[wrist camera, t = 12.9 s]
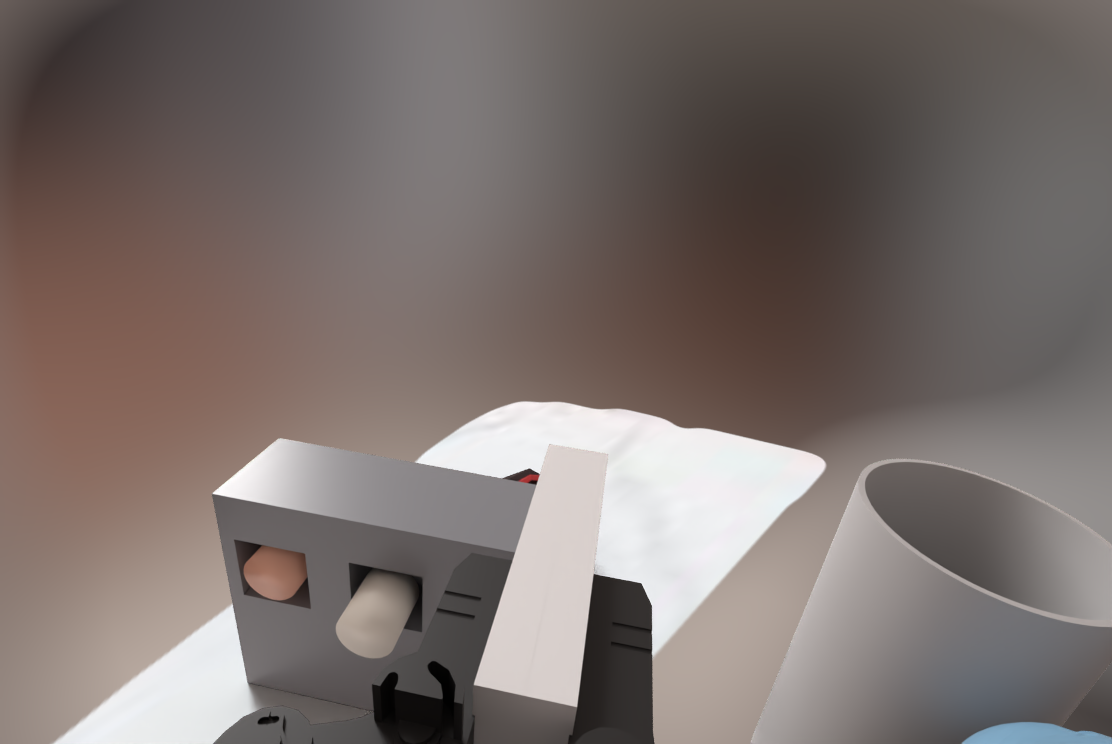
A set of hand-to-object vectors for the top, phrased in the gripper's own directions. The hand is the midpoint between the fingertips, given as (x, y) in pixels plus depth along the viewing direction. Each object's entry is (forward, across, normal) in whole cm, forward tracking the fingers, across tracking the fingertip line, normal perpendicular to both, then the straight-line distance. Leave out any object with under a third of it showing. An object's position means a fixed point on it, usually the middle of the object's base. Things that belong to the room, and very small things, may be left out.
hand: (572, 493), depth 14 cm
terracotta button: (+15, -20, -23) cm, 34 cm away
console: (+17, -12, -33) cm, 39 cm away
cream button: (+12, -12, -23) cm, 29 cm away
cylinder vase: (+14, +21, -34) cm, 42 cm away
